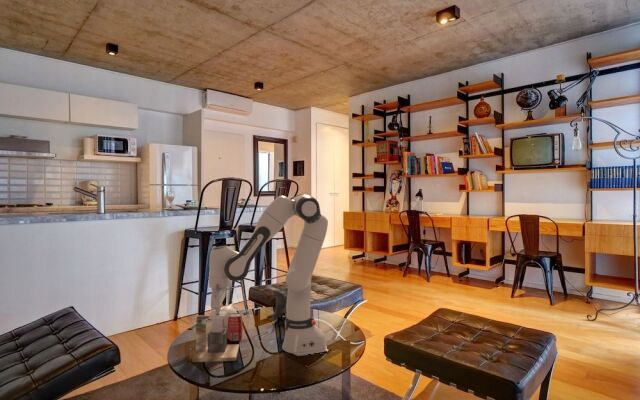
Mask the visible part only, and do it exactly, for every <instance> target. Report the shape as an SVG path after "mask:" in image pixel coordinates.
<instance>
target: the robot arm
mask: <svg viewBox="0 0 640 400" xmlns="http://www.w3.org/2000/svg"><path fill="white" fill-rule="evenodd" d="M294 216H297V217H298V218H301V219H302V220H303V221H304V222H303V223H304V225H303V228H302V231H301V234H300V236H299V240H298V243H297V246H296V248H295V250H294V253H293V256H292V258H291V261H290V263H289V266H288V269H287V272H286V275H285V282H286V286H287V289H288V294H287V311H286V312H285V317H284V318H285V319H284V330H285V332H284V333H285V334H284V338H283V339H284V340H283V343H282V347H281V348H282V350H283V351H284V352H287V353H289V354H293V355H295V356H297V357H300V356H309V355H308V354H311V355H315V354H314V353H319V352H324V351H328V349H327V346H326V340H327V339H326V335H325V333H324V331H323V330H321V329H320V328H319V327H317V326H316V324H317V321H316V320H315V318H314V317H313V316H311V294H312V277H313V273H314V270H315V267H316V264H317V262H318V259H319V256H320V253H321V251H322V247H323V245H324V241H325V239H326V235H327V231H328V227H329V221H328V218H327V217H326V216H324V215H323V214H321V207H320V204H319V201H318V199H316V198H315V197H313V196H312V195H310V194H304V193H301V194H298V195H296V196H293V197H290V198H289V197H288V196H285V195H278V196H277V197H276V198H274V200H273V201H271V202H270V204H269V205H268V206H267V207H266V208H265V210H264V211H263V213H261V215H260V216H259V219H258V221H257V223H256V225H255V228H254V230H253V233H252V235H251V236H250V238H249V240H248V241H247V242H246V243H245V245H244V246H243V247H242V249H241V250H240V251H236V250H234V249H232V248H231V247H230V246H229V245H219V246H215V247H213V248H212V249H211V250H210V253H209V261H208V263H209V264H208V265H209V266H208V267H209V274H208V287H209V288H210V289H211V293H210V294H211V295H210V310H214V311H216V314H220V312H221V307H222V303H223V301H224V300H225V299H226V294H227V288H228V287H229V286H230V280H231V281H233V282H239V281H242V280H244V279H245V278H246V277H247V275H248V274H249V270H250V268H251V266H252V265H251V264H252V262H253V260H254V258H255V257H256V255H257V254H258V253H259V252H260V250H261V249H262V248H263V247H264V246H265V245H266V243H267V242H269V241H270V240H271V239H272V238H274V237H275V236H276V235H277V234H278V233H279V232H280V231H281V230H282V229H283V227H284V226H285V225H286V223H287V222H288V220H289V219H290V218H292V217H294Z"/></svg>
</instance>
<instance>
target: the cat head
mask: <svg viewBox="0 0 640 400" xmlns="http://www.w3.org/2000/svg"><path fill="white" fill-rule="evenodd" d="M221 311H227V316H226V319H224V328H227V331H228V318H229V315H230V314H233V313H238V312H237V310H236V309H235V308H234V303H230V304H228V305H227V304H226V305H223V306H222V305H221ZM210 323H211V324H212V320H211V321H210V322H209V324H210Z"/></svg>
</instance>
